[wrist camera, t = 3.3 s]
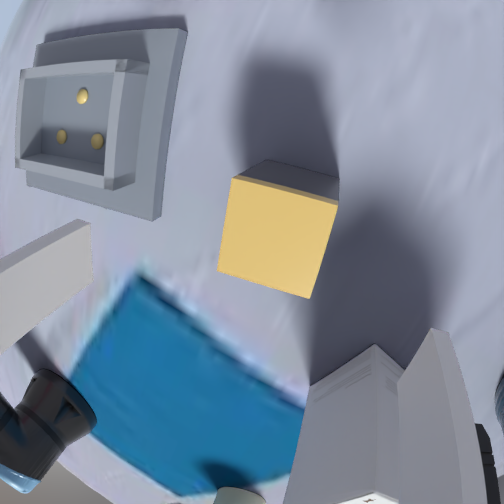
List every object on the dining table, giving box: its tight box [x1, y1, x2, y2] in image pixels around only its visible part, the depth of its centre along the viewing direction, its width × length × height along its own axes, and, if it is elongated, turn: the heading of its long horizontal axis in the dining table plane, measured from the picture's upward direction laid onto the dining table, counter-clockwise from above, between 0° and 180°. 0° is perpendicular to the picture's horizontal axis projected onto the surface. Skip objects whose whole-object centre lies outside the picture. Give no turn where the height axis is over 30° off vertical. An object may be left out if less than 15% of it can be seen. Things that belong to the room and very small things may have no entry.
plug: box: [217, 160, 340, 299], centre depth 21 cm, size 6×6×8 cm
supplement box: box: [283, 344, 405, 504], centre depth 22 cm, size 9×9×15 cm
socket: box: [15, 28, 188, 221], centre depth 24 cm, size 16×18×4 cm
